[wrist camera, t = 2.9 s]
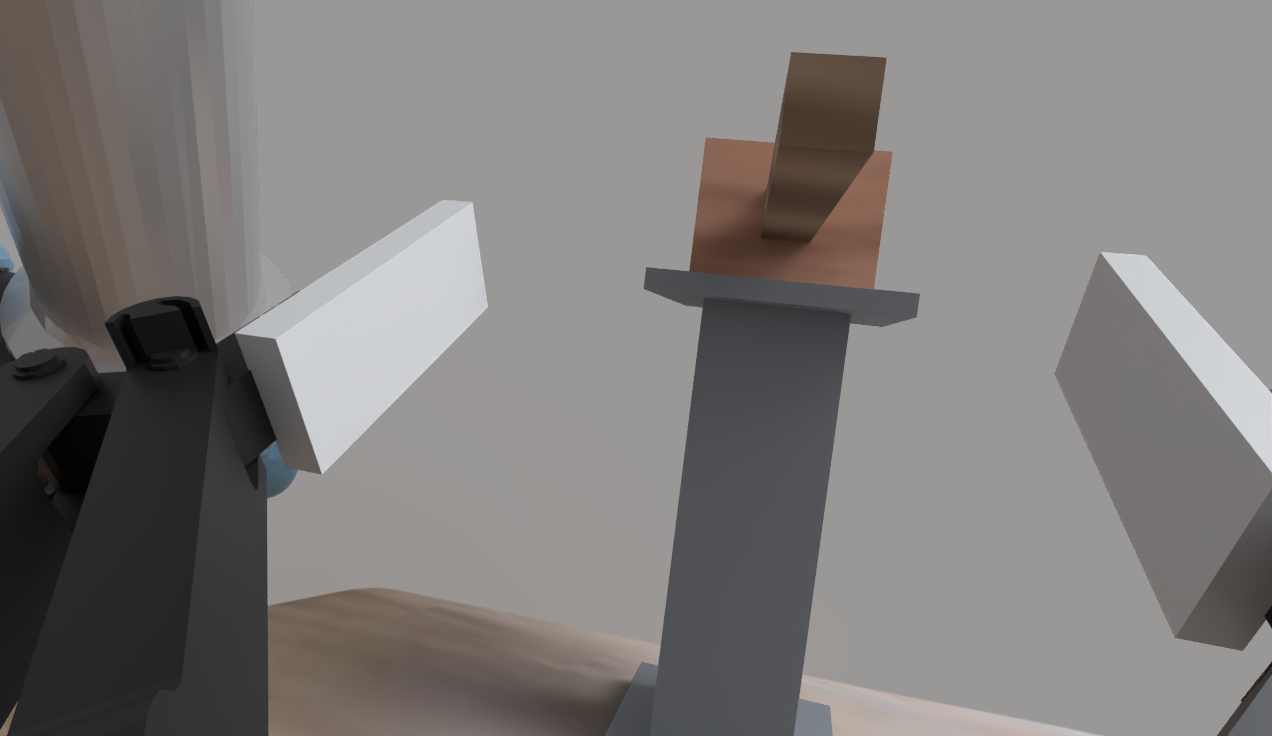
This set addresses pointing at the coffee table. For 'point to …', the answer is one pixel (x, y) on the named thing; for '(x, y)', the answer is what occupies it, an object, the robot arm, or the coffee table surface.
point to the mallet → (801, 183)
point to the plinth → (750, 505)
